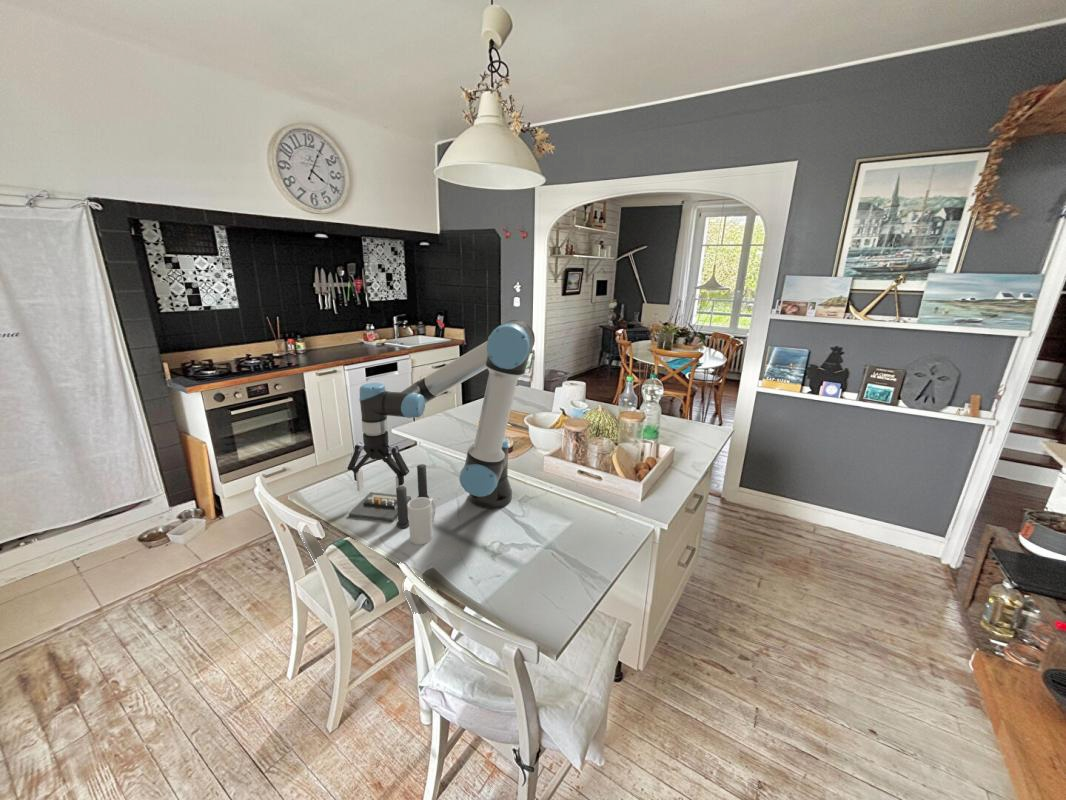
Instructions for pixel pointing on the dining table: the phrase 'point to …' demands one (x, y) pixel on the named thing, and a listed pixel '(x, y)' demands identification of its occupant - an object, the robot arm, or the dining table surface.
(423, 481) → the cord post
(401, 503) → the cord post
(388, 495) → the breaker panel
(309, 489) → the dining table surface
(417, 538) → the mug
